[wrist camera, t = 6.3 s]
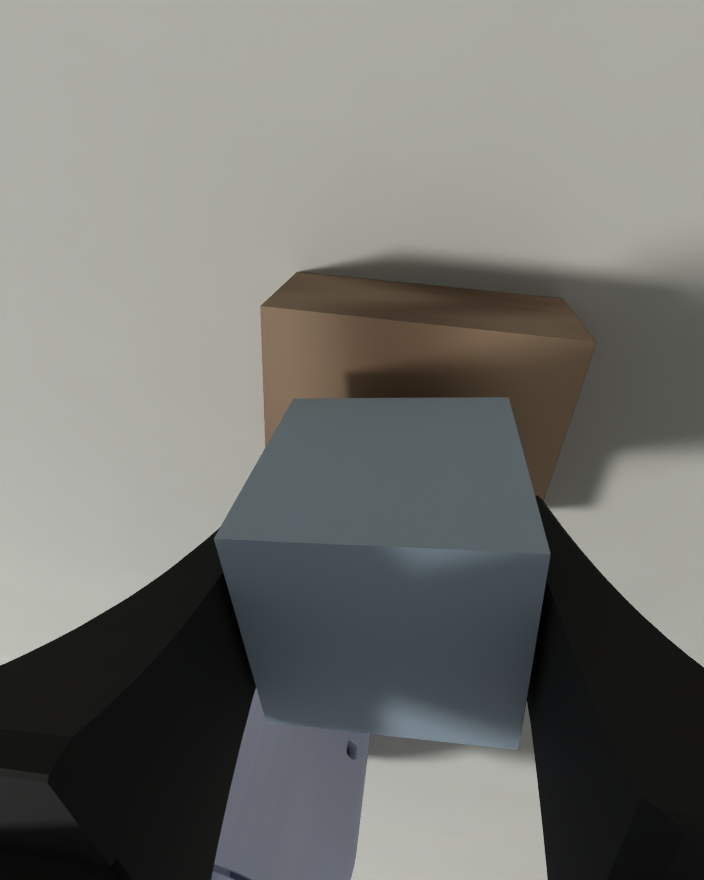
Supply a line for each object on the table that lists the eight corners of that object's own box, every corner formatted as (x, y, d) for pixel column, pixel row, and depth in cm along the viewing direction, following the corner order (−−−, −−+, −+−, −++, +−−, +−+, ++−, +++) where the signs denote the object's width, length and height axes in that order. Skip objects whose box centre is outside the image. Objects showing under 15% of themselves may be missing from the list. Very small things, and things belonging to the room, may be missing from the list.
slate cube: (508, 397, 11) (550, 554, 7) (494, 561, 14) (518, 750, 9) (293, 398, 12) (213, 538, 8) (317, 553, 15) (266, 722, 10)
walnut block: (560, 296, 15) (596, 342, 12) (502, 505, 19) (515, 583, 16) (299, 269, 16) (260, 306, 12) (297, 476, 20) (269, 545, 16)
